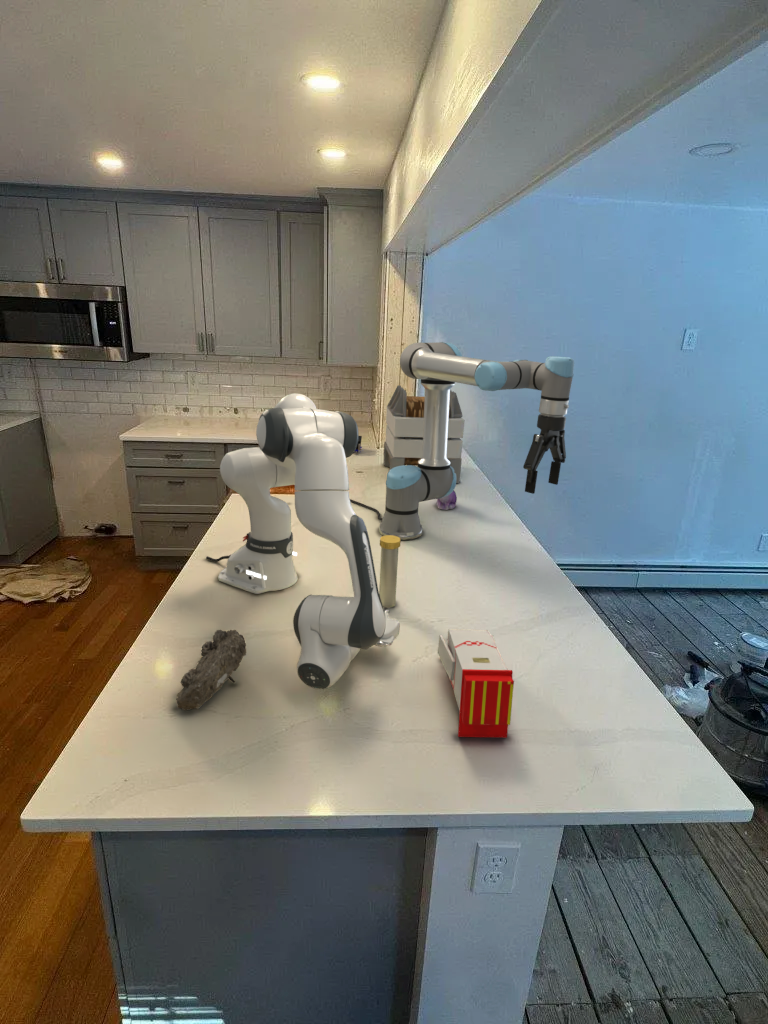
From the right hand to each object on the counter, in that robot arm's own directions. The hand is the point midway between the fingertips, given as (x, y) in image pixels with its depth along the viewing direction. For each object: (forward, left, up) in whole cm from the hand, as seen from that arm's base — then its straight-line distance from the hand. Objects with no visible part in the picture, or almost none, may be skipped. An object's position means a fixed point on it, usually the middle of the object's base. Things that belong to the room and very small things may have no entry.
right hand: (541, 487), depth 164 cm
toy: (+27, -58, -28) cm, 69 cm away
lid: (-12, -47, -9) cm, 50 cm away
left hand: (-5, -60, -21) cm, 64 cm away
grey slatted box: (-100, +50, -28) cm, 115 cm away
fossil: (-8, -98, -28) cm, 102 cm away
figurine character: (-151, +50, -28) cm, 162 cm away
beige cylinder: (-12, -47, -28) cm, 56 cm away
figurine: (-58, +24, -28) cm, 69 cm away
